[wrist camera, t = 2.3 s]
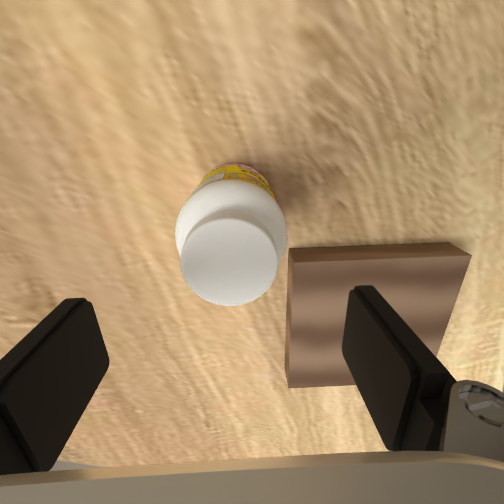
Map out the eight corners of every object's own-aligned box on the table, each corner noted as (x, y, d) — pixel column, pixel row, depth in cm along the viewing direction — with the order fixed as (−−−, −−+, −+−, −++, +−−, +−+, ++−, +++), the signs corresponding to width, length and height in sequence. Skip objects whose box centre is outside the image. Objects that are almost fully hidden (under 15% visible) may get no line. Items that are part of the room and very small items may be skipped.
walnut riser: (288, 248, 27) (294, 262, 24) (448, 242, 27) (471, 255, 24) (284, 367, 33) (288, 388, 31) (412, 360, 34) (427, 381, 31)
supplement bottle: (285, 211, 25) (323, 285, 13) (225, 246, 26) (213, 342, 15) (246, 145, 23) (252, 166, 11) (182, 188, 24) (127, 247, 12)
